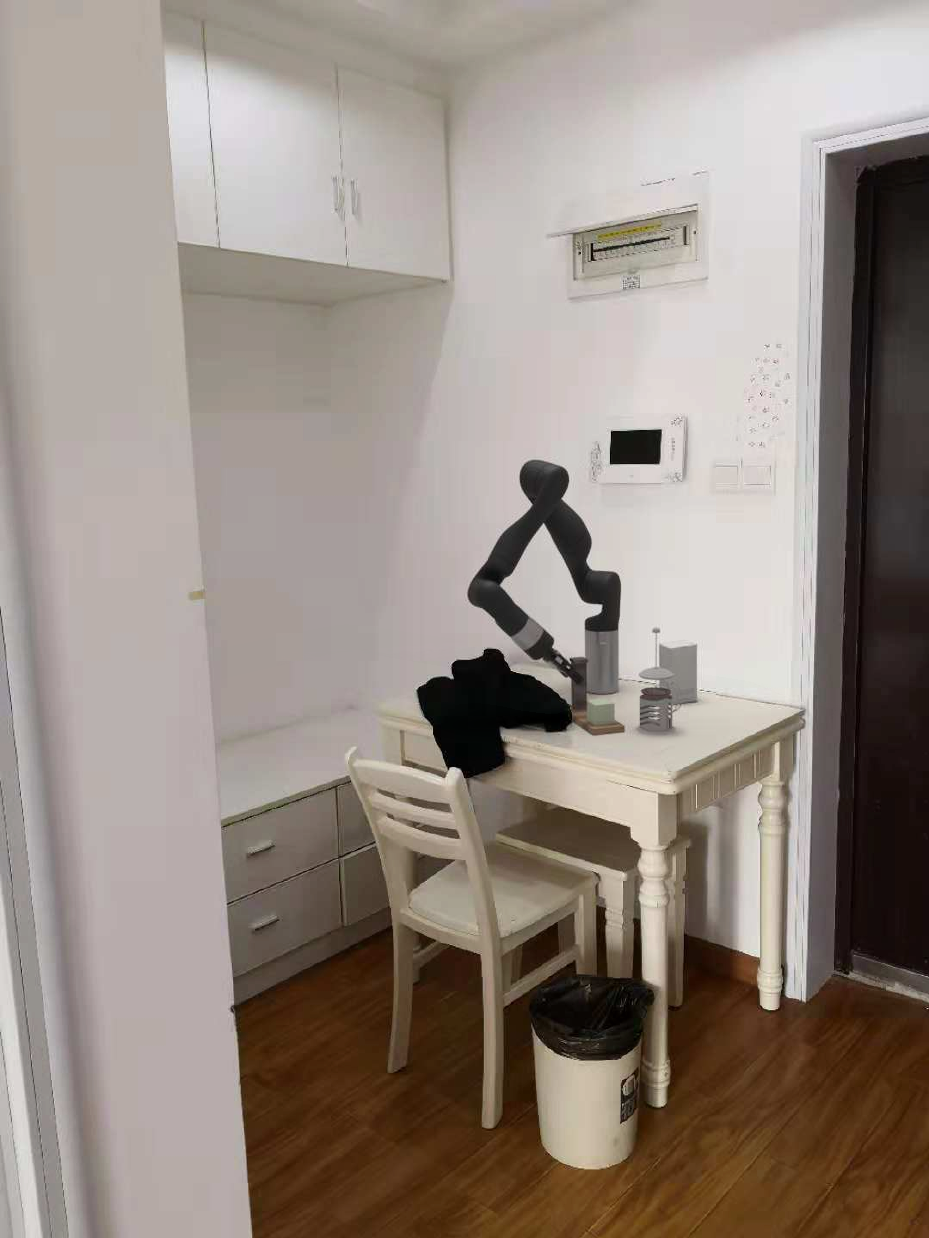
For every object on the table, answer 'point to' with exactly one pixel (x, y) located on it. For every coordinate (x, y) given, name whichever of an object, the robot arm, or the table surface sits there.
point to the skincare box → (680, 669)
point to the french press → (656, 701)
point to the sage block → (600, 712)
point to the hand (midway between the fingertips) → (575, 678)
